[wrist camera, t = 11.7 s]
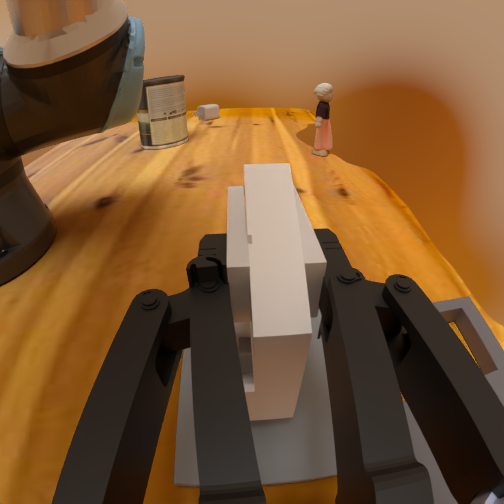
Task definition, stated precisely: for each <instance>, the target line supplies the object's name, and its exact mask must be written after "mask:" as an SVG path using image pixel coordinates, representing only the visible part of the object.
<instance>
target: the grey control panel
mask: <svg viewBox="0 0 504 504" xmlns="http://www.w3.org/2000/svg"><path fill="white" fill-rule="evenodd" d="M433 305H434V306H435V307H436V309H437V310H438V311H439V312H440V314H441V315H442V316H443V318H444V319H445V320H446V322H447V323H449V322H453V321H455V323H456V325H457V327H458V328H459V330H460V332H461V333H462V335H463V337H464V339H465V341H466V342H467V344H468V346H469V348H470V350H471V351H472V353H473V355H474V357H475V359H476V361H477V363H478V365H479V367H480V369H481V371H482V373H483V374H484V376H485V377H486V379H487V380H488V382H489V383H490V385H491V387H492V388H493V390H494V391H495V393H496V395H497V396H498V398H499V400H500V401H501V403H502V405H503V406H504V351H503V350H502V348H501V346H500V344H499V343H498V341H497V339H496V338H495V336H494V334H493V333H492V331H491V329H490V328H489V326H488V325H487V323H486V321H485V320H484V318H483V317H482V315H481V314H480V312H479V311H478V309H477V308H476V306H475V305H474V303H473V302H472V300H471V299H470V297H469V296H468V297H463V298H457V299H452V300H446V301H440V302H433ZM403 328H404V327H403ZM405 331H406V330H405ZM403 405H404V409H405V413H406V417H407V421H408V426H409V430H410V435H411V440H412V445H413V450H414V455H415V458H416V460H417V461H418V462H419V463H421V464H423V465H425V467H426V468H427V470H428V472H429V475H430V479H431V485H432V492H433V498H434V504H458V503H457V501H456V500H455V499H454V497H453V496H452V494H451V492H450V490H449V488H448V486H447V484H446V482H445V480H444V478H443V476H442V473H441V471H440V469H439V467H438V465H437V463H436V461H435V458H434V456H433V454H432V452H431V450H430V448H429V446H428V444H427V442H426V440H425V438H424V436H423V434H422V432H421V430H420V428H419V426H418V424H417V422H416V420H415V418H414V416H413V414H412V412H411V410H410V408H409V406H408V405H407V403H406V402H403Z"/></svg>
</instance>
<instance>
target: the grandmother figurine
mask: <svg viewBox="0 0 504 504" xmlns="http://www.w3.org/2000/svg"><path fill="white" fill-rule="evenodd" d="M332 91H333V87H332V86H331V85H330V84H327V83H322V84H320V85H318V86H317V87H316V89H315V90H314V91H313V92H314V93H315V94H317V97H318V99H319V100H320V102H319V104H318V106H317V111H316V123H315V127H316V128H317V130H316V138H315V144H314V151H313V152H312V153H313V154H315V155H319V156H327V155H328V153H327V152H329V150H330V149H332V132H331V125H330V120H329V111H330V106H329V103H328V102H330V101H331V100H332Z"/></svg>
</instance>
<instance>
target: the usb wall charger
mask: <svg viewBox="0 0 504 504" xmlns="http://www.w3.org/2000/svg"><path fill="white" fill-rule="evenodd" d="M192 114H193V115H192ZM192 114H191V115H192V116H194V115H195V116H196V115H197V116H198V118H199V120H204V121H206V120H212V119H217V118H219V106H218V105H216V104H209V105H204V106H199V107H198V112H196V113H192Z"/></svg>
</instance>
